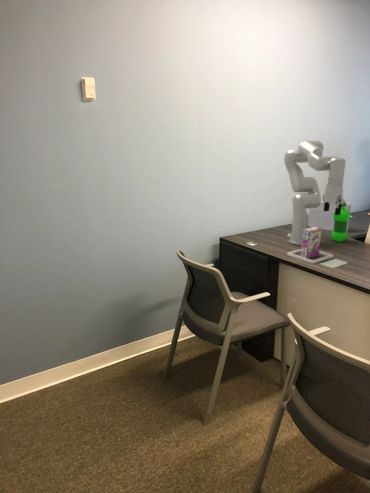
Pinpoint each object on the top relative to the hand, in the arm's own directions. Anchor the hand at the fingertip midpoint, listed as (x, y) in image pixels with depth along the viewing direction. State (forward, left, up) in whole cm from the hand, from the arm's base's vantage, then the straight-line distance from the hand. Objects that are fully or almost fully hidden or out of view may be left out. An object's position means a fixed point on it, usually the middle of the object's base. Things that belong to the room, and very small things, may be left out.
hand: (331, 212), depth 208 cm
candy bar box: (-7, -6, -26) cm, 28 cm away
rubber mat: (+9, -6, -26) cm, 28 cm away
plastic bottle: (-16, +35, -26) cm, 47 cm away
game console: (-38, +54, -26) cm, 72 cm away
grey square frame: (-7, -6, -26) cm, 28 cm away
